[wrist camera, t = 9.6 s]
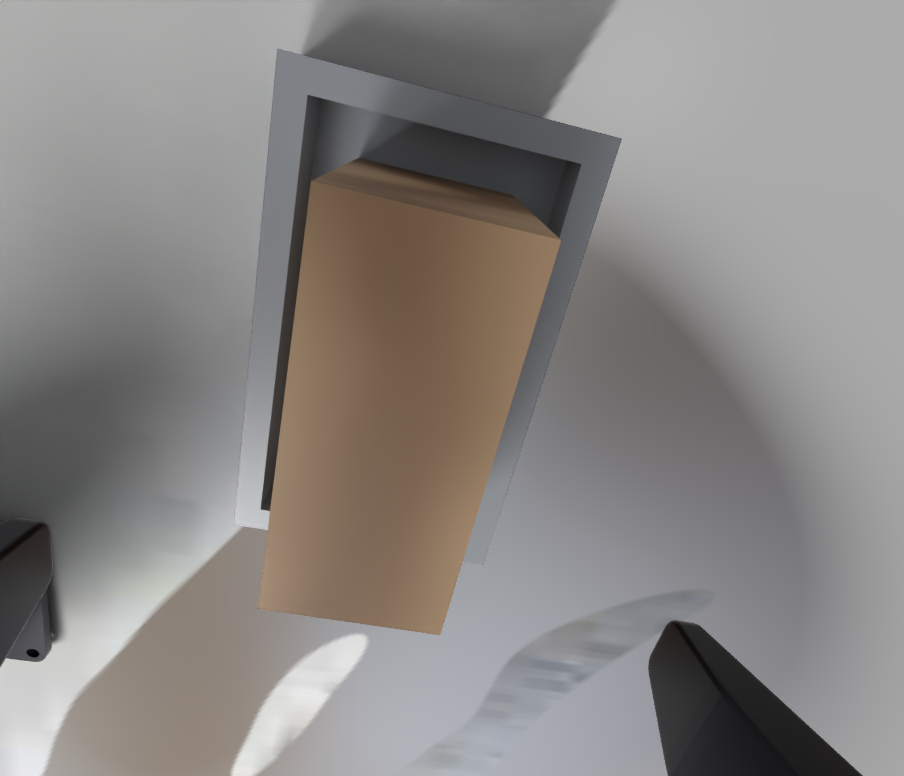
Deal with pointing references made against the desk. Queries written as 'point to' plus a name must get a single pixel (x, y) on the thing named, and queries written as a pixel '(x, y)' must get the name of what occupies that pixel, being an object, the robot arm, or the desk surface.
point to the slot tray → (426, 151)
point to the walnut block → (397, 390)
